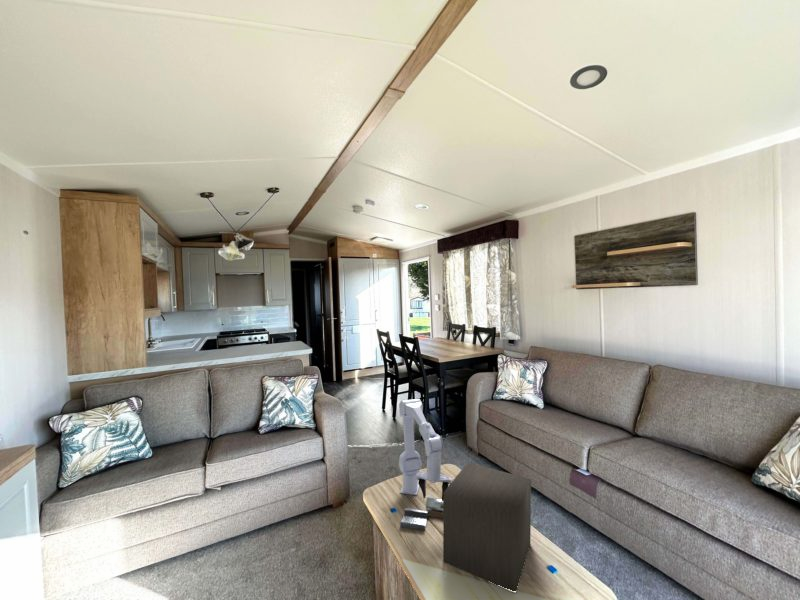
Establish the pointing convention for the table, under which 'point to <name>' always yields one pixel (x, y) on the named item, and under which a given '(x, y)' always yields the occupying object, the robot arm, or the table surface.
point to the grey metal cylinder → (434, 504)
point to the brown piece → (435, 514)
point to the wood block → (487, 524)
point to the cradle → (414, 519)
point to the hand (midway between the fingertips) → (433, 498)
